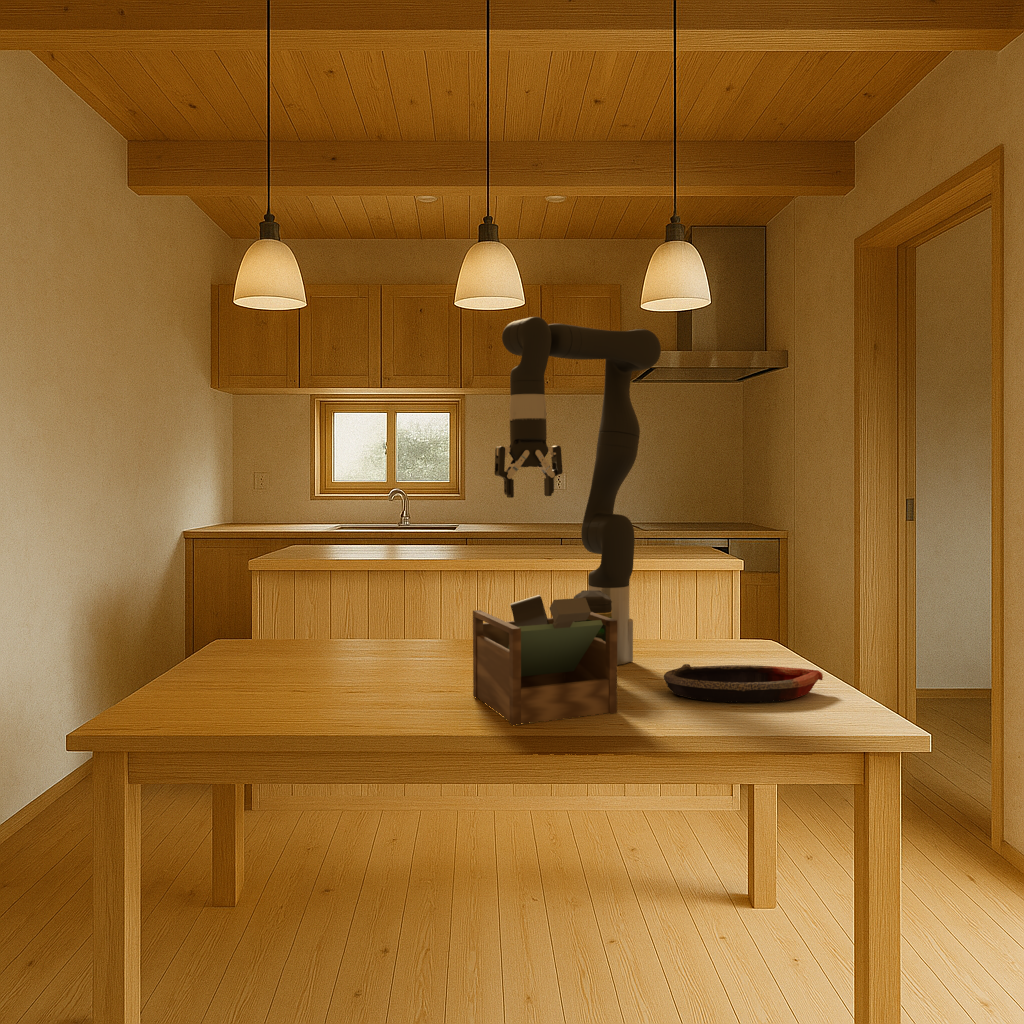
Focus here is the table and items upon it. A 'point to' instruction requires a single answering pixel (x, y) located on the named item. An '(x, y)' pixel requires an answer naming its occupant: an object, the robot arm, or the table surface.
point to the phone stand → (529, 612)
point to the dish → (741, 683)
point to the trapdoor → (558, 639)
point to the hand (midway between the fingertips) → (529, 496)
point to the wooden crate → (543, 693)
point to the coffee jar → (597, 607)
